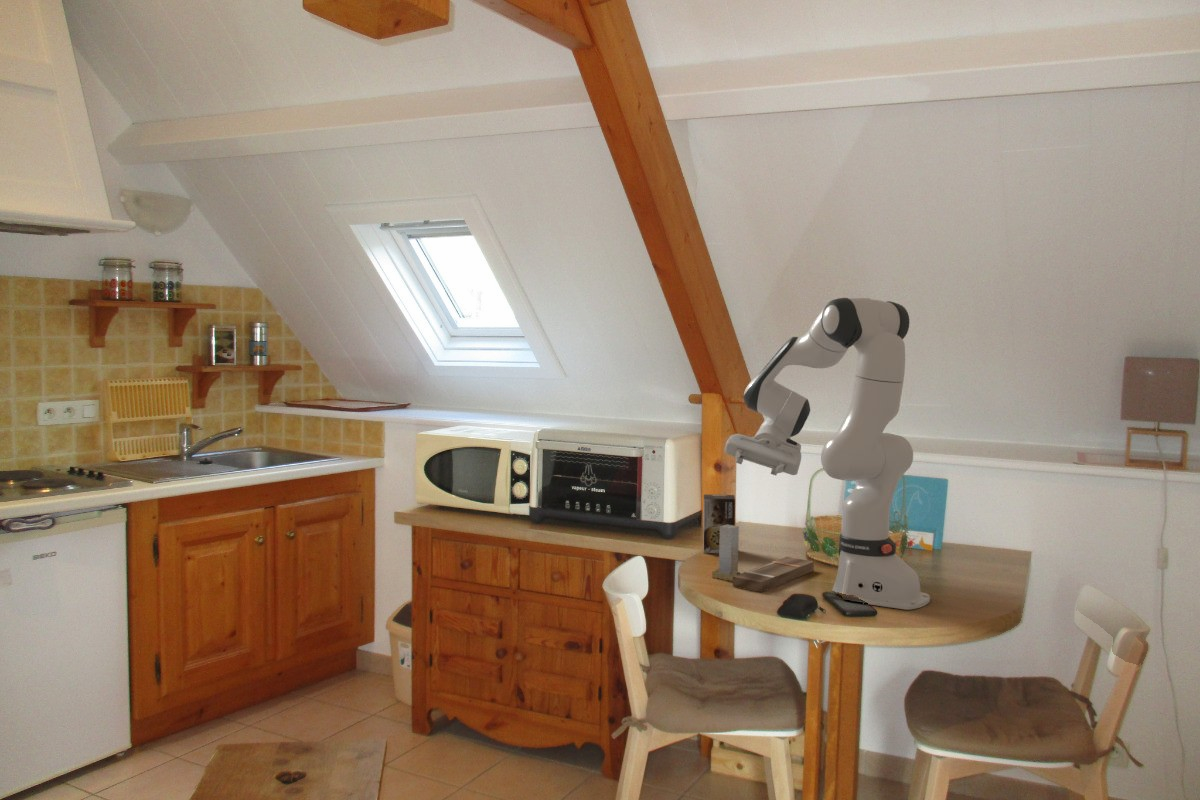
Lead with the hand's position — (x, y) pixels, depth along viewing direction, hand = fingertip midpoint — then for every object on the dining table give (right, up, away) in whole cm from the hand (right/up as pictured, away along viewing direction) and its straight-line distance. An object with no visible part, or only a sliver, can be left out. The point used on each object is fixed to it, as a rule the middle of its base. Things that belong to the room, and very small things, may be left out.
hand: (756, 466), depth 242 cm
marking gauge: (-8, -28, -3) cm, 30 cm away
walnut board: (+4, -29, -2) cm, 29 cm away
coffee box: (-6, -27, +27) cm, 38 cm away
